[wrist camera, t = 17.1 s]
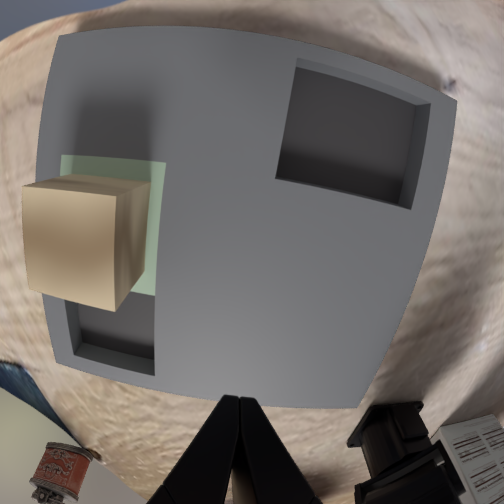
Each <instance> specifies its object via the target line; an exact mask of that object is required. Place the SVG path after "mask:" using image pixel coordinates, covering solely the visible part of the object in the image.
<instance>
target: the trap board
mask: <svg viewBox="0 0 504 504" xmlns="http://www.w3.org/2000/svg"><path fill="white" fill-rule="evenodd" d="M456 109H457V100H455V99H453V98H451V97H449V96H447V95H445V94H444V93H442V92H440V91H438V90H436V89H434V88H432V87H430V86H427V85H425V84H423V83H421V82H419V81H417V80H415V79H412V78H410V77H408V76H405V75H403V74H401V73H398V72H396V71H393V70H391V69H388V68H386V67H383V66H381V65H378V64H375V63H372V62H370V61H367V60H364V59H361V58H358V57H355V56H352V55H349V54H346V53H342V52H339V51H336V50H332V49H329V48H325V47H321V46H318V45H314V44H310V43H306V42H301V41H297V40H292V39H288V38H283V37H277V36H272V35H266V34H260V33H254V32H247V31H239V30H231V29H221V28H210V27H194V26H135V27H120V28H108V29H99V30H91V31H84V32H77V33H71V34H66V35H60V36H59V37H58V41H57V44H56V48H55V51H54V55H53V59H52V63H51V67H50V72H49V76H48V81H47V85H46V91H45V96H44V102H43V108H42V114H41V121H40V129H39V138H38V148H37V161H36V180H35V183H36V182H39V181H43V180H47V179H51V178H55V177H60V176H64V175H68V174H80V175H91V176H102V177H112V178H121V179H130V180H139V181H148V182H151V188H150V198H149V209H148V220H147V234H146V250H145V271H144V273H143V274H142V275H141V277H140V278H139V280H138V281H137V282H136V284H135V285H134V286H133V288H132V289H131V291H130V292H129V293H128V295H127V296H126V297H125V299H124V300H123V302H122V303H121V304H120V306H119V307H118V309H117V310H116V312H113V311H109V310H105V309H100V308H96V307H92V306H88V305H84V304H80V303H76V302H73V301H69V300H65V299H61V298H58V297H54V296H51V295H47V294H44V293H42V297H43V303H44V309H45V315H46V320H47V325H48V330H49V335H50V339H51V343H52V348H53V352H54V356H55V360H56V363H59V364H62V365H65V366H68V367H71V368H74V369H77V370H80V371H83V372H86V373H90V374H93V375H96V376H100V377H103V378H107V379H110V380H114V381H118V382H122V383H126V384H130V385H134V386H138V387H142V388H147V389H151V390H156V391H161V392H166V393H171V394H176V395H182V396H187V397H193V398H200V399H206V400H213V401H219V400H220V399H221V397H222V396H223V395H225V394H227V395H235V396H238V397H239V398H240V397H241V396H244V397H253V398H255V399H256V400H257V401H258V403H259V405H260V406H271V407H288V408H324V409H332V408H357V407H358V406H359V404H360V402H361V400H362V399H363V397H364V395H365V393H366V391H367V390H368V388H369V386H370V384H371V382H372V380H373V378H374V376H375V375H376V373H377V371H378V369H379V367H380V365H381V363H382V361H383V359H384V357H385V354H386V352H387V350H388V348H389V346H390V344H391V342H392V340H393V337H394V335H395V333H396V331H397V328H398V326H399V324H400V321H401V319H402V317H403V314H404V312H405V309H406V307H407V304H408V302H409V299H410V297H411V294H412V291H413V289H414V286H415V283H416V281H417V278H418V275H419V272H420V269H421V266H422V263H423V260H424V257H425V254H426V251H427V248H428V245H429V241H430V238H431V235H432V231H433V228H434V224H435V221H436V217H437V213H438V209H439V205H440V201H441V197H442V193H443V188H444V184H445V179H446V174H447V169H448V164H449V158H450V153H451V147H452V140H453V133H454V126H455V118H456Z"/></svg>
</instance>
